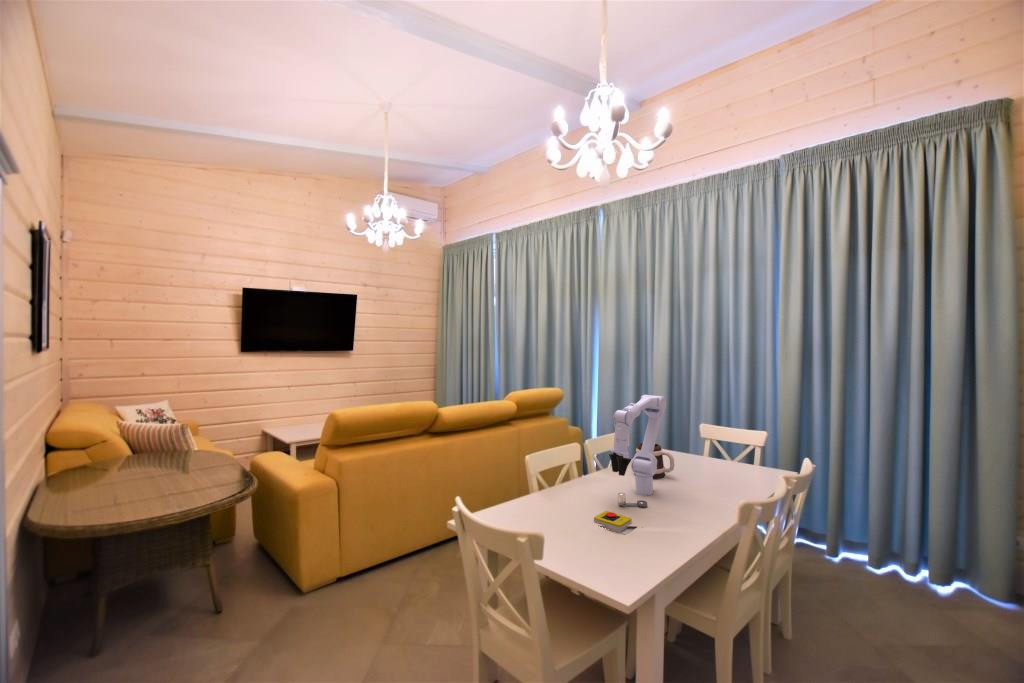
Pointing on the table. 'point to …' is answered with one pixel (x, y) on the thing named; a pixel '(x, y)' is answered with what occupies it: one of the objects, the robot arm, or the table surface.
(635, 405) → the robot arm
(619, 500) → the crank
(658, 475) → the mug
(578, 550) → the table surface
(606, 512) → the emergency button
